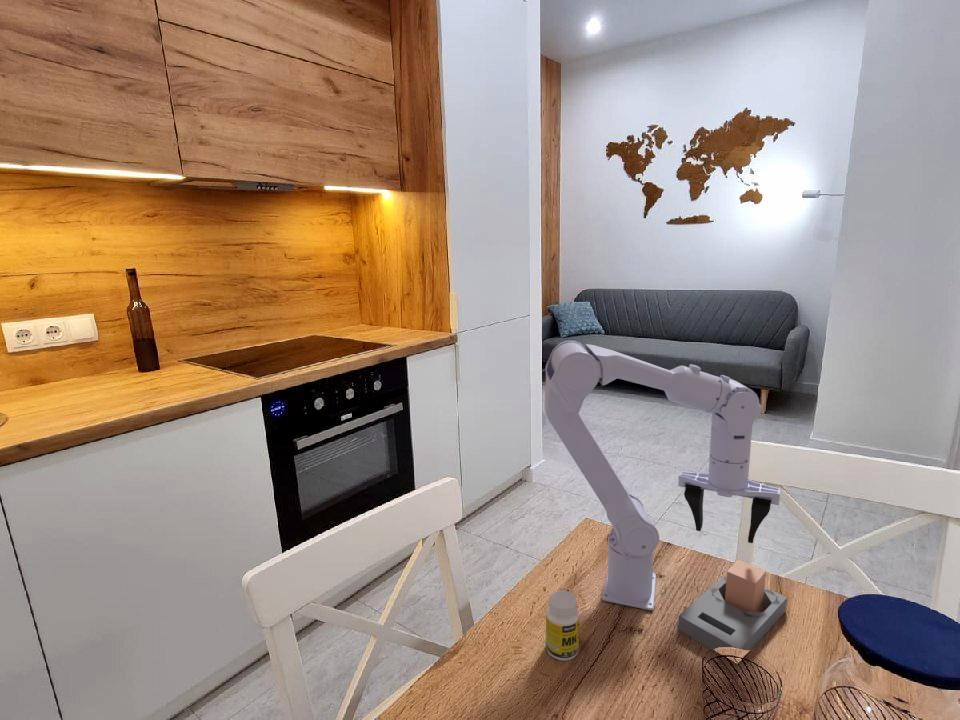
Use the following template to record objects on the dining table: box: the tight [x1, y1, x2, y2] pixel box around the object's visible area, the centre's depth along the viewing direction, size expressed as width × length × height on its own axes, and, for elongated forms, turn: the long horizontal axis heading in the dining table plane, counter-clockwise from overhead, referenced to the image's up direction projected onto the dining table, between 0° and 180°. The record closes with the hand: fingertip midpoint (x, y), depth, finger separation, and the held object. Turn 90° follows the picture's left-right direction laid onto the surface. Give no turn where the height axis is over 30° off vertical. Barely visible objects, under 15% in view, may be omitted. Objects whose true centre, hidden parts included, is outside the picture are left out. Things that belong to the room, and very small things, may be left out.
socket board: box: [677, 573, 788, 651], centre depth 80 cm, size 16×9×2 cm, turn 129°
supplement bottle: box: [545, 589, 580, 662], centre depth 75 cm, size 5×5×8 cm
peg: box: [724, 559, 767, 612], centre depth 82 cm, size 4×4×7 cm
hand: (724, 533), depth 85 cm, fingers open, 7 cm apart
